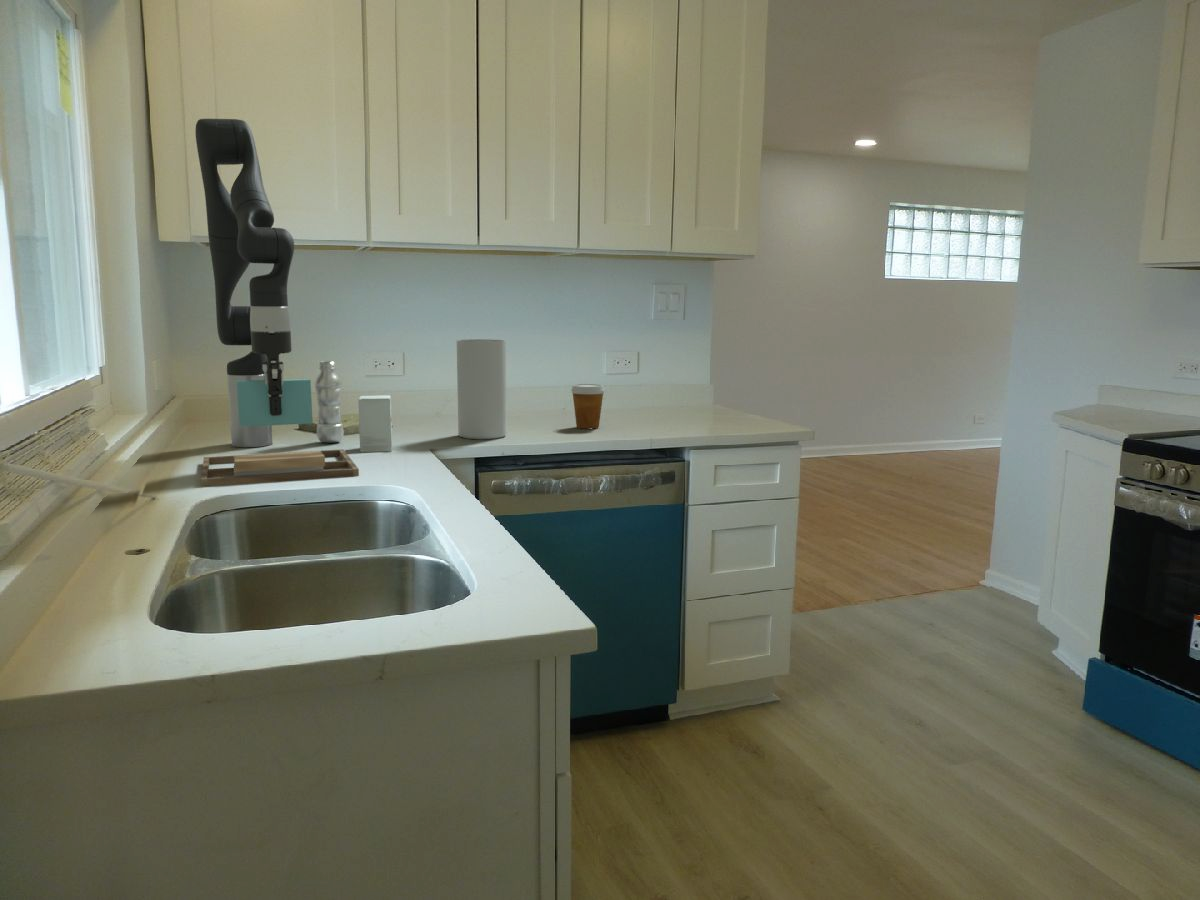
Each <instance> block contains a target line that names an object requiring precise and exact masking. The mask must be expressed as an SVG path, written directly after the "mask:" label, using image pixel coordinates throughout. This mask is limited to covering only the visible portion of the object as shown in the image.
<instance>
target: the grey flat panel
mask: <svg viewBox="0 0 1200 900" xmlns="http://www.w3.org/2000/svg"><path fill="white" fill-rule="evenodd" d="M233 468H234V475H233V476H245V475H261V474H276V473H291V472H306V471H321V470H325V469H323V466H322V467H307V468H293V469H278V470H263V471H249V472H236V471H235V467H234V466H233Z"/></svg>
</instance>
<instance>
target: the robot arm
mask: <svg viewBox="0 0 1200 900" xmlns="http://www.w3.org/2000/svg"><path fill="white" fill-rule="evenodd" d="M195 142H196V150H197V155H198V161H199V166H200V172H201V178H202V179H201V180H202V183H203V185H202V186H203V190H204V196H205V197H204V199H205V207H206V208H205V209H206V211H205V212H206V221H207V222H206V224H207V232H208V233H207V235H208V243H209V244H208V245H209V251H210V256H211V264H212V271H213V278H214V279H213V281H214V290H215V291H214V293H215V309H216V312H215V313H216V330H217V334H218V338H219V341H220V343H221V344H222V345H224V346H251V351H250V352H249V353H247V354H246V355H244V356H242V357H240V358H236V359H234V360H231V361H229V362H227V364H226V379H227V390H228V405H229V406H228V407H229V409H228V410H229V423H230V435H231V446H232V447H234V448H235V447H236V448H255V447H264V446H266V447H267V446H270V445H273V429H272V426H273V425H267V426H246V427H240V426H239V411H238V396H237V381H252V380H265V385H267V386H268V395H269V404H270V414H271V415H272V416H278V415H281V414H282V409H281V395H282V385H283V380H284V374H283V372H284V362H283V361H280V355H282V354H289V353H291V352H292V350H293V349H292V336H291V334H292V333H291V317H290V312H289V307H288V306H289V304H288V280H289V275H290V274H289V273H290V271H291V270H290V269H291V266H292V261H293V257H294V252H295V242H294V241H295V240H294V238H293V236H292V235H291V233H290V232H289V230H287V229H285V228H281V227H273V225H274V222H275V216H274V213H273V212H274V211H273V209H272V206H271V203H270V202H269V200H268V197H267V196H268V195H267V193H266V191H265V190H266V189H265V188H264V184H263V177H262V171H261V167H260V166H261V165H260V162H259V157H258V153H257V148H256V147H257V146H256V143H255V139H254V135H253V132H252V130H251V127H250V126H249V124H248V123H247V122H246V121H245V120H243V119H236V118H199V119H198V120H197V122H196V124H195ZM218 165H219V166H220V165H221V166H230V165H237V166H238V165H242V168H241V170H240V172H239V173H238V174H237V177H236V178H235V180H234V182H233V183H232V186H231V188H230V193H229V191H228V190H227V187H226V186H225V184H224V183H223V181H222V179H221V177H220V174H219V171H218ZM250 264H266V265H267V264H269V265H270V264H271V265H273V267H272V270H271V271H270V272H269V273H266V274H261V275H256V276H254V277H251V278H250V280H249V286H248V287H249V301H250V303H249V306H246V305H244V306H242V305H240V306H239V305H238V306H236V305H235V306H234V305H233V306H232V305H231V300H232V296H233V293H234V292H235V289H236V288H237V285H238V283H239V282H240V280H241V278H242V276H243V275H244V273H245V272H246V271H247V268H248V267H249V265H250ZM276 385H278V389H271V386H276Z"/></svg>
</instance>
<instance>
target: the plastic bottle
mask: <svg viewBox="0 0 1200 900" xmlns="http://www.w3.org/2000/svg"><path fill="white" fill-rule="evenodd" d="M318 370H320V372H319V374H318V375H317V376H316V378H315V381H314V388H315V395H316V401H317V411H318V413H317V417H318V425H317V432H316V437H317V439H318V440H319V442H322V443H328V444H334V443H337V442H341V441H342V440H343V438H344V436H343V434H344V430H343V425H342V423H341V422H342V421H341V415H342V414H341V392H342V381H341V379H340V378H341V377H339V376H338V374H337V373H336V372H335V370H336V362H335V361H328V360H327V361H319V368H318Z"/></svg>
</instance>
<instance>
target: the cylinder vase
mask: <svg viewBox="0 0 1200 900" xmlns="http://www.w3.org/2000/svg"><path fill="white" fill-rule="evenodd" d="M506 344H507V343H506V340H505V339H493V338H492V339H491V338H490V339H487V338H485V339H484V338H483V339H482V338H480V339H477V338H476V339H473V338H471V339H457V340H456V374H457V376H456V377H457V379H456V380H457V385H456V386H457V423H458V424H457V426H458V427H457V428H458V430H457V431H458V436H459V437H461V438H462V437H463V439H468V440H495V439H501V438H503V437H506V435H507V365H506V364H507V362H506V361H507V359H506V358H507V357H506V355H507V354H506V353H507V349H506V348H507V346H506Z"/></svg>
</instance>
